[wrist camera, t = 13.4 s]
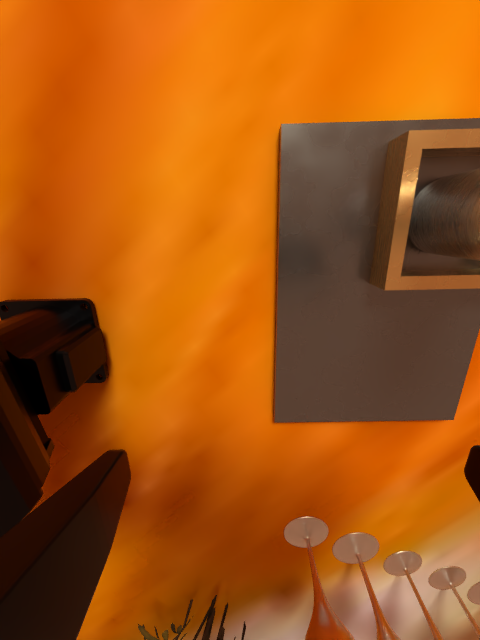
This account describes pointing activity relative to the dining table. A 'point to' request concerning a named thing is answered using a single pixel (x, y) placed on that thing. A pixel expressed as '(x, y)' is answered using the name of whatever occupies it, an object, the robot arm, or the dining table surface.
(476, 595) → the goblet set
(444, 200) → the shiny metal cylinder
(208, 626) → the dried plant
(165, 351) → the dining table surface
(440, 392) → the dark grey flat slab
